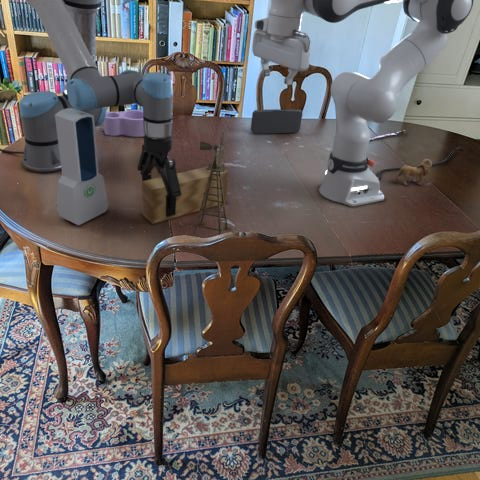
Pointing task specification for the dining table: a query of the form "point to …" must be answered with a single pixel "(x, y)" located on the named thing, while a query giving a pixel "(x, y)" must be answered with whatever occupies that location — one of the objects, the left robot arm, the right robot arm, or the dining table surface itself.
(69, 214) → the electronic device
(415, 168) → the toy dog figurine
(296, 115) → the handheld gaming console
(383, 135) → the sword
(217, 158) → the miniature windmill
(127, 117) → the purple double bowl
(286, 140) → the dining table surface
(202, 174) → the box
